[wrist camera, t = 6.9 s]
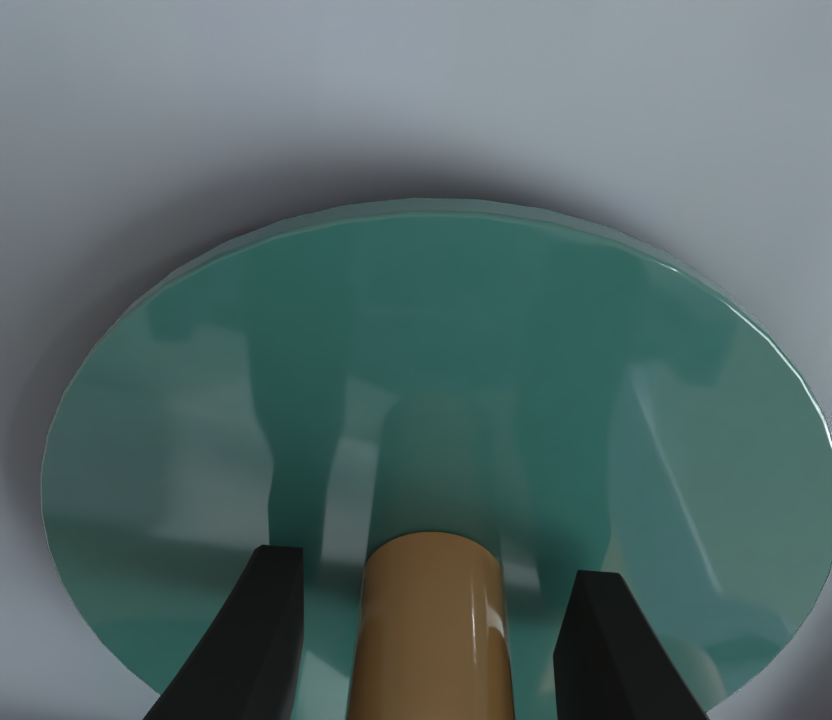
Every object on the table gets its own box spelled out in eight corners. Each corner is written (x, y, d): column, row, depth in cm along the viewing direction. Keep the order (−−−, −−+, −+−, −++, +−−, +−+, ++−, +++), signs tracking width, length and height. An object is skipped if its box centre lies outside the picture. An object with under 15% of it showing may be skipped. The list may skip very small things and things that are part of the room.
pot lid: (686, 747, 15) (771, 1041, 11) (128, 705, 15) (16, 987, 11) (958, 222, 9) (1377, 479, 5) (-12, 138, 9) (-396, 334, 5)
